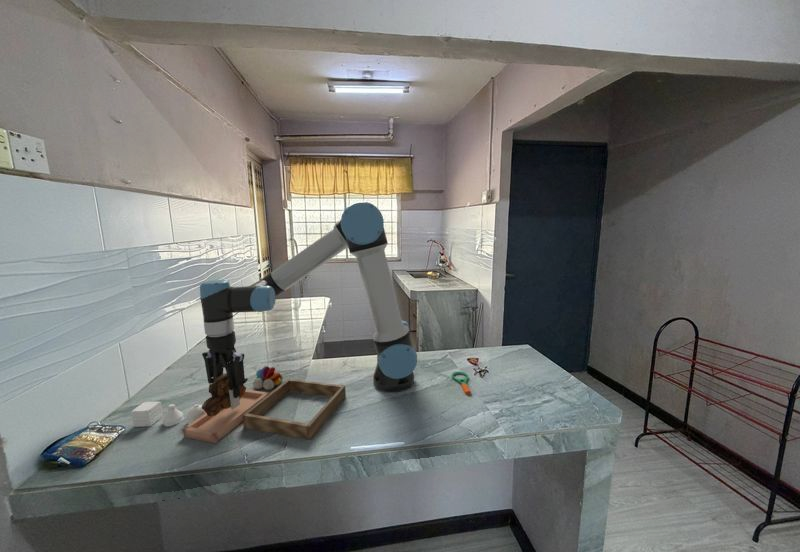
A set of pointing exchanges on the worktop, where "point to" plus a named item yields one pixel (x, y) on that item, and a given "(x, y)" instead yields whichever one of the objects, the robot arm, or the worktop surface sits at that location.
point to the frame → (292, 428)
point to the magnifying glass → (462, 381)
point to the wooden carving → (220, 395)
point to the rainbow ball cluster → (267, 378)
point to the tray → (222, 419)
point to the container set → (153, 412)
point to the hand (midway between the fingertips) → (229, 405)
